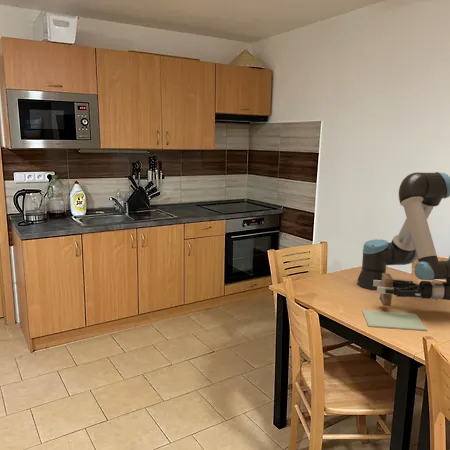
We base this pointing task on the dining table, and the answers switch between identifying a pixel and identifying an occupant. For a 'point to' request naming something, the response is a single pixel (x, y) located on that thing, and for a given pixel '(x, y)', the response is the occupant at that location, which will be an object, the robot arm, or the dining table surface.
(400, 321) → the mat
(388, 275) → the slim walnut box
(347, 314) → the dining table surface
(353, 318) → the dining table surface
